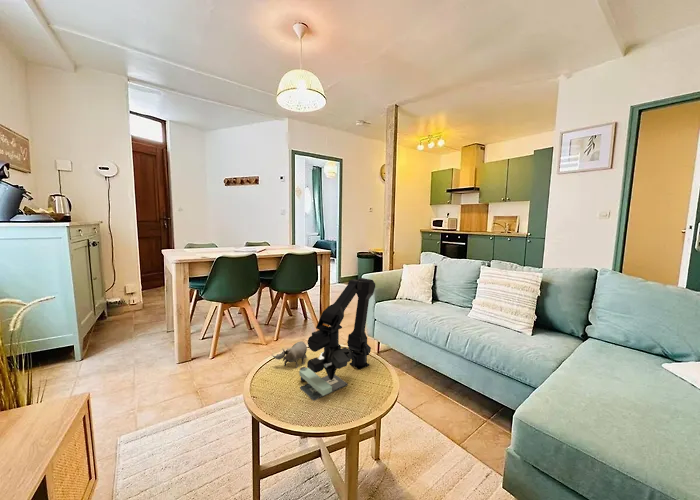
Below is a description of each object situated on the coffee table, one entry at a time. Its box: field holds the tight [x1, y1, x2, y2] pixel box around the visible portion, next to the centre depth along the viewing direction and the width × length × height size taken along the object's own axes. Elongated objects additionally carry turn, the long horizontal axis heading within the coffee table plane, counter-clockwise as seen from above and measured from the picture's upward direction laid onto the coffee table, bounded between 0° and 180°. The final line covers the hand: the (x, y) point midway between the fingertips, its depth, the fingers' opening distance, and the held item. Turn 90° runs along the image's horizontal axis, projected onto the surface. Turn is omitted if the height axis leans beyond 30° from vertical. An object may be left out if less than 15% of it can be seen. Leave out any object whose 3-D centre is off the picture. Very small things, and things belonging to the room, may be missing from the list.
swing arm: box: [298, 366, 333, 397], centre depth 112 cm, size 18×4×2 cm, turn 39°
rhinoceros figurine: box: [271, 340, 308, 369], centre depth 131 cm, size 8×14×15 cm
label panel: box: [299, 373, 349, 402], centre depth 116 cm, size 16×15×2 cm
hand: (331, 379), depth 115 cm, fingers closed
